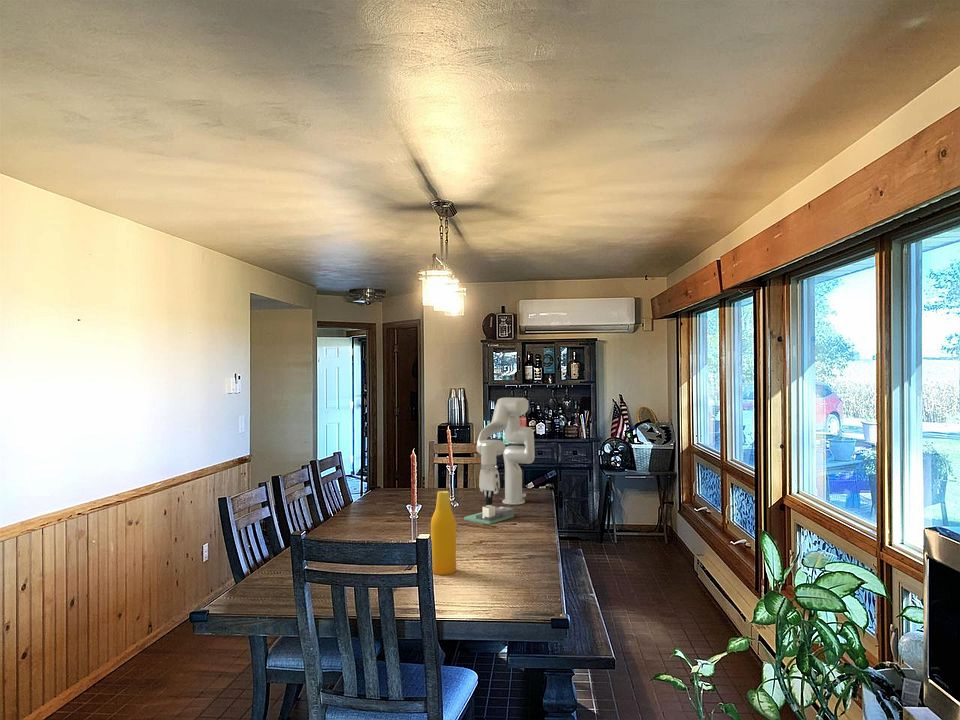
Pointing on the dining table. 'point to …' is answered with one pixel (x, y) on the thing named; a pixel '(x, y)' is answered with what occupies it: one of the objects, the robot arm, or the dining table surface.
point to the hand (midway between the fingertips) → (489, 504)
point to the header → (489, 517)
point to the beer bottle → (443, 536)
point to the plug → (488, 511)
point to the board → (473, 518)
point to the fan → (504, 511)
